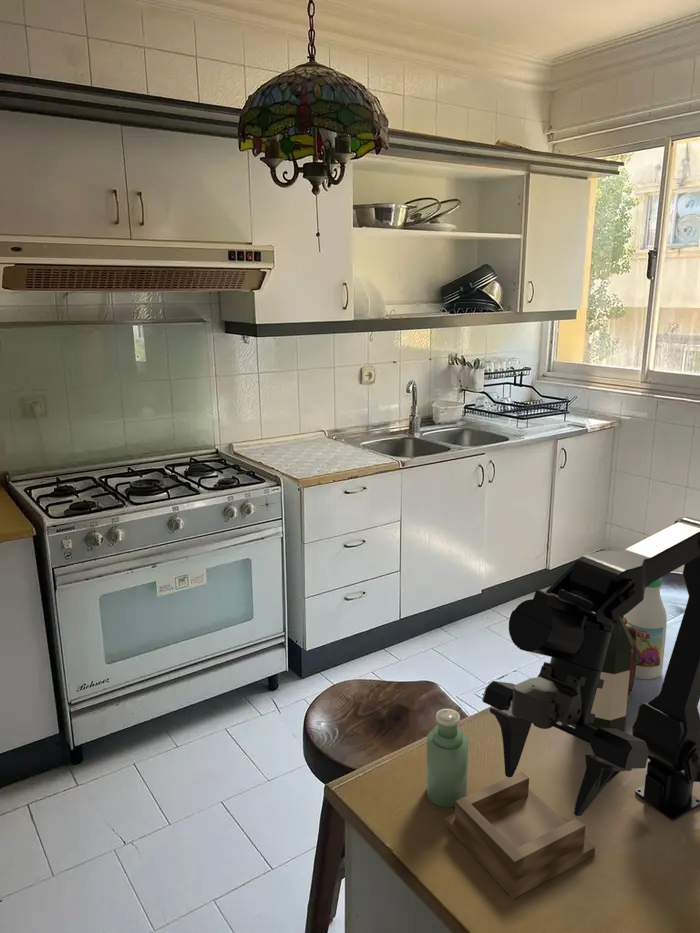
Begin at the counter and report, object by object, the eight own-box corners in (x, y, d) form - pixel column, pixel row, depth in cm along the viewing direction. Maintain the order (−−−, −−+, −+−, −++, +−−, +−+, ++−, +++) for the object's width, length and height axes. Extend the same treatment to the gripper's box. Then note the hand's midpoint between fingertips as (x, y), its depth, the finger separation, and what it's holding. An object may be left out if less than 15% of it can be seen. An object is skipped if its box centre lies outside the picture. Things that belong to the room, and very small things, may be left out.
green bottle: (450, 774, 106) (452, 699, 102) (475, 798, 100) (477, 720, 97) (418, 787, 103) (418, 711, 100) (442, 813, 98) (443, 733, 95)
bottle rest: (521, 789, 102) (522, 765, 101) (594, 854, 90) (596, 827, 89) (444, 824, 95) (445, 799, 94) (512, 899, 83) (513, 870, 82)
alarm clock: (608, 678, 131) (613, 606, 127) (635, 684, 129) (641, 611, 125) (598, 708, 122) (604, 631, 118) (627, 715, 119) (634, 637, 116)
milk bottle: (626, 656, 139) (634, 563, 134) (666, 668, 134) (676, 572, 129) (613, 672, 133) (621, 576, 128) (655, 685, 128) (664, 586, 123)
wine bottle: (634, 742, 112) (649, 571, 105) (582, 742, 112) (595, 572, 105) (615, 712, 120) (629, 552, 113) (568, 712, 120) (578, 552, 113)
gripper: (474, 630, 82) (438, 759, 81) (621, 686, 68) (581, 844, 67) (523, 640, 89) (491, 759, 88) (666, 693, 75) (630, 835, 74)
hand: (541, 795), depth 79 cm, fingers open, 9 cm apart
